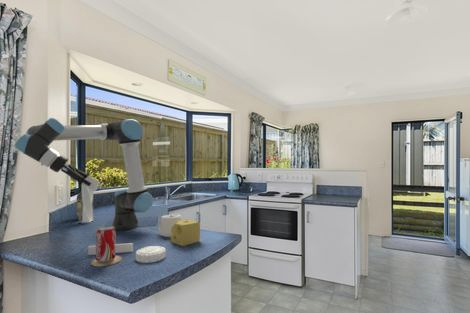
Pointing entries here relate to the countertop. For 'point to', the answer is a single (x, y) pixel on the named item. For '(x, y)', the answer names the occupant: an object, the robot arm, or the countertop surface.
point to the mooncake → (150, 254)
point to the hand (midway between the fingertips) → (98, 186)
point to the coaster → (116, 260)
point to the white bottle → (86, 205)
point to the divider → (118, 248)
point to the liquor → (80, 204)
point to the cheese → (185, 232)
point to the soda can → (105, 244)
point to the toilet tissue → (167, 224)
